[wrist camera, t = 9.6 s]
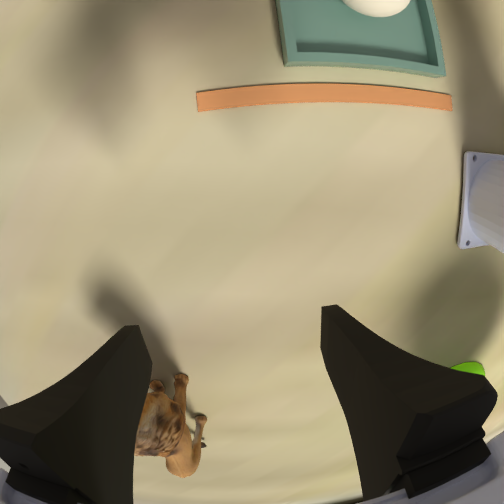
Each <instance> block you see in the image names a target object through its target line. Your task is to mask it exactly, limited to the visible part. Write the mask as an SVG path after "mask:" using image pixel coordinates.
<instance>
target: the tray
mask: <svg viewBox="0 0 504 504" xmlns="http://www.w3.org/2000/svg"><path fill="white" fill-rule="evenodd" d="M275 2H276V9H277V16H278V23H279V30H280V37H281V45H282V53H283V61H284V67H286V66H331V67H352V68H366V69H377V70H387V71H395V72H402V73H409V74H416V75H422V76H428V77H433V78H437V77H444V76H446V71H445V64H444V58H443V52H442V46H441V40H440V35H439V30H438V26H437V21H436V17H435V13H434V9H433V5H432V1H431V0H411V1H410V2H409V4H408V5H407V7H406V8H405V9H403V10H402V11H401V12H399V13H397V14H395V15H392V16H388V17H372V16H367V15H364V14H361V13H359V12H357V11H355V10H353V9H351V8H350V7H349V6H347V5H346V4H345V3H344V2H343V1H342V0H275Z"/></svg>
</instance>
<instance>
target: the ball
mask: <svg viewBox="0 0 504 504" xmlns="http://www.w3.org/2000/svg"><path fill="white" fill-rule="evenodd" d="M342 1H343V2H344V3H345V4H346V5H347V6H349V7H350V8H351V9H353V10H355V11H357V12H359V13H361V14H364V15H367V16H372V17H388V16H392V15H395V14H397V13H399V12H401V11H402V10H403V9H405V8H406V7H407V5H408V4H409V2H410V1H411V0H342Z"/></svg>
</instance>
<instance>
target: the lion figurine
mask: <svg viewBox="0 0 504 504" xmlns="http://www.w3.org/2000/svg"><path fill="white" fill-rule="evenodd" d="M188 381H189V379H188V377H187V376H186V375H184V374H178V375H175V382H174V386H175V396H174V399H173V400H171V399H169V398H168V397H167V395H165V394H164V392H165V388H164V386H163V384H162V383H161V382H160V381H158V380H153V381H152V382H151V383H150V388H151V389H153V390H154V391H155V392H153V393H147V396H146V400H145V403H144V407H143V411H142V414H141V418H140V422H139V426H138V430H137V435H136V443H135V452H134V455H135V456H138V455H139V456H162V457H165V458H166V467H167V469H168V471H169V472H170V473H172V474H174V475H176V476H179V477H181V478H185V477H187V476H191V475H192V474H193V473H194V472H195V471H196V469H197V467H198V465H199V462H200V457H201V448H204V447H206V445H205V443H203V442H201V437H202V432H203V428H204V425H205V423H206V422H207V418H206V417H205V416H197V417H196V418H195V421H196V429H195V433H194V439H193V441H192V439H191V434H190V431H189V429H188V427H187V425H186V423H185V420H186V418H185V410H186V387H187V384H188Z"/></svg>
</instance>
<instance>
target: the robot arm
mask: <svg viewBox="0 0 504 504" xmlns="http://www.w3.org/2000/svg"><path fill="white" fill-rule="evenodd" d="M473 156H474V160H473ZM466 242H467V243H466ZM457 245H458V247H459V248H460V249H467V248H473V247H479V246H485V245H491V246H492V247H494V248H496V249H497V250H499V251H500V252H502V253H504V155H501V154H492V153H483V152H472V151H467V152H465V154H464V173H463V194H462V207H461V217H460V227H459V235H458V242H457ZM320 348H321V351H322V355H323V359H324V363H325V367H326V370H327V372H328V375H329V377H330V379H331V382H332V384H333V387H334V389H335V392H336V394H337V396H338V399H339V401H340V404H341V406H342V409H343V411H344V414H345V417H346V420H347V423H348V427H349V431H350V435H351V439H352V443H353V447H354V451H355V456H356V460H357V465H358V470H359V475H360V481H361V487H362V493H363V500H364V502H361V503H357V504H504V431H503V432H502V433H500V434H499V435H497V436H495V437H494V438H493V439H491V440H490V441H489V442H488V443H487V444H485V442H484V440H483V439H482V438H483V437H484V436H485V431H484V430H483V428H482V425H483V424H484V422H485V421H486V419H487V418H488V416H489V415H490V413H491V412H492V410H493V408H494V406H495V404H496V401H497V397H498V395H497V392H496V390H495V389H494V388H493V386H492V385H491V384H490V383H489V381H488V380H487V379H486V377H485V376H484V375H481V374H475V373H469V372H464V371H459V370H455V369H451V368H448V367H444V366H441V365H438V364H435V363H432V362H429V361H427V360H424V359H422V358H419V357H417V356H414V355H412V354H410V353H408V352H406V351H404V350H402V349H400V348H398V347H396V346H395V345H393V344H391V343H389V342H388V341H386V340H385V339H383V338H381V337H380V336H378V335H377V334H375V333H374V332H372V331H371V330H370V329H368V328H367V327H365V326H364V325H363V324H361V323H360V322H359V321H357V320H356V319H355V318H353V317H352V316H351V315H350V314H348V313H347V312H346V311H345V310H343V309H342V308H341V307H339V306H338V305H330V306H324V307H322V314H321V346H320ZM151 371H152V361H151V358H150V356H149V353H148V350H147V348H146V345H145V342H144V340H143V337H142V334H141V331H140V328H139V325H132V326H124V327H123V328H122V329H120V330H119V331H118V332H117V333H116V334H115V335H114V336H112V337H111V338H110V339H109V340H108V341H107V342H106V343H105V344H104V345H103V346H102V347H100V348H99V349H98V350H97V351H96V352H95V353H94V354H93V355H92V356H91V357H89V358H88V359H87V360H86V361H85V362H83V363H82V364H81V365H80V366H79V367H78V368H76V369H75V370H74V371H73V372H71V373H70V374H68V375H67V376H66V377H64V378H63V379H61V380H60V381H58V382H57V383H55V384H54V385H52V386H50V387H49V388H47V389H45V390H43V391H42V392H40V393H38V394H36V395H34V396H32V397H30V398H28V399H26V400H23V401H21V402H19V403H16V404H13V405H10V406H7V407H4V408H1V409H0V458H1V459H2V460H3V461H5V462H6V463H7V464H8V465H9V466H10V467H11V469H10V471H9V473H8V472H7V471H5V470H4V469H2V468H0V504H133V465H134V452H135V443H136V435H137V430H138V426H139V422H140V418H141V414H142V411H143V407H144V403H145V400H146V396H147V392H148V389H149V385H150V378H151Z"/></svg>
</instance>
